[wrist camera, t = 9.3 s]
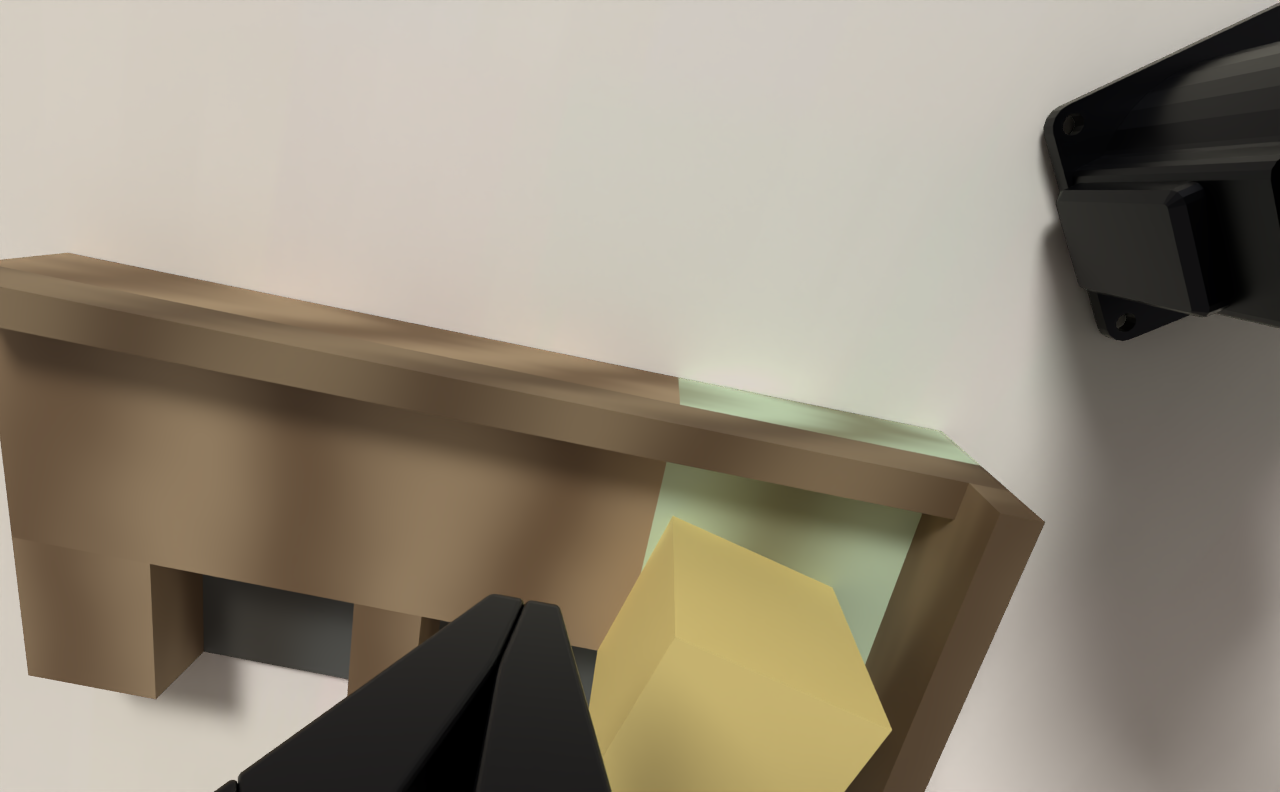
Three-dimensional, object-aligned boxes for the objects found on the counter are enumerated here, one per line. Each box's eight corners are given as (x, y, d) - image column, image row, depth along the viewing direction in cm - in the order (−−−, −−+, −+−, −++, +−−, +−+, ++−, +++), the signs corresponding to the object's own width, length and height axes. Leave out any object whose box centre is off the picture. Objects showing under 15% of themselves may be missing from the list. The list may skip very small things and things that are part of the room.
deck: (941, 431, 19) (1044, 522, 14) (818, 761, 23) (863, 929, 18) (67, 252, 18) (-169, 277, 13) (95, 623, 22) (-78, 755, 17)
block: (832, 587, 18) (892, 729, 13) (747, 714, 19) (773, 883, 15) (672, 515, 18) (675, 636, 13) (597, 651, 19) (574, 804, 14)
